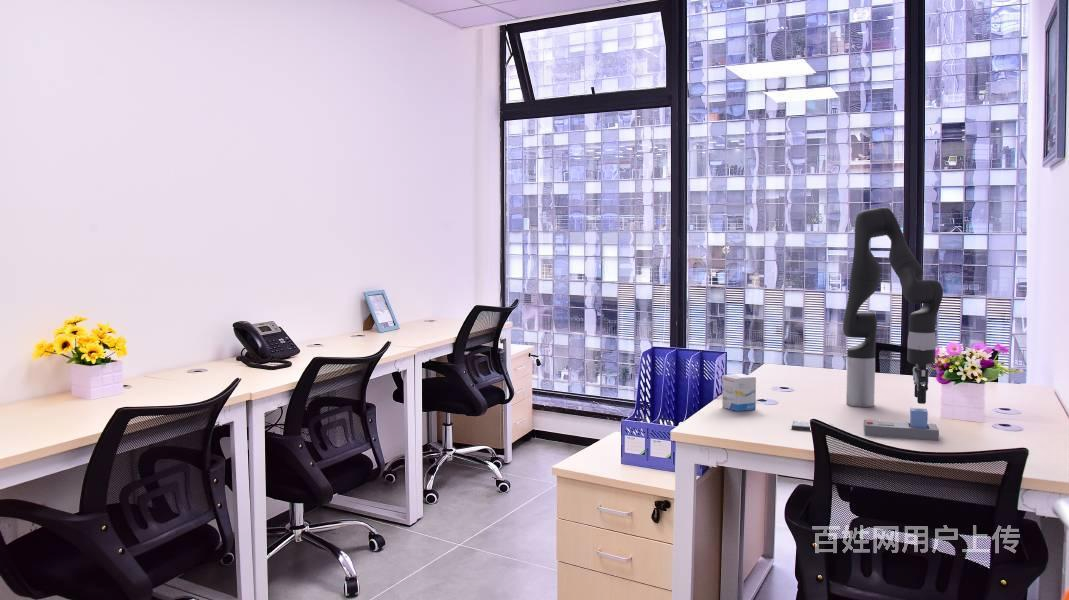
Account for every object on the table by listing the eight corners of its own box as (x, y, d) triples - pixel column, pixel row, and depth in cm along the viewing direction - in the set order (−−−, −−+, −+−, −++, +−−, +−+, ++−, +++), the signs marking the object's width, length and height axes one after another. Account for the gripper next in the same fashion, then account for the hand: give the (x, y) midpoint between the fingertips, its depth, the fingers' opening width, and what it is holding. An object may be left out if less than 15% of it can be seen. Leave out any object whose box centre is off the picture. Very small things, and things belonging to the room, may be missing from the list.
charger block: (909, 433, 237) (910, 406, 237) (925, 434, 236) (926, 407, 235) (910, 437, 233) (911, 409, 233) (927, 438, 232) (927, 410, 231)
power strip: (863, 429, 244) (863, 418, 243) (935, 434, 236) (935, 422, 236) (864, 435, 236) (864, 423, 236) (938, 440, 229) (939, 428, 229)
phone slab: (792, 424, 251) (792, 420, 250) (832, 427, 246) (832, 423, 246) (791, 429, 244) (791, 425, 244) (832, 432, 240) (832, 428, 240)
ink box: (756, 409, 273) (756, 376, 272) (736, 412, 270) (736, 378, 269) (741, 405, 281) (741, 372, 280) (721, 407, 278) (721, 374, 277)
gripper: (905, 342, 240) (904, 394, 242) (909, 349, 227) (908, 404, 229) (932, 343, 238) (931, 396, 239) (938, 350, 224) (937, 406, 226)
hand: (920, 400), depth 234 cm, fingers open, 8 cm apart
